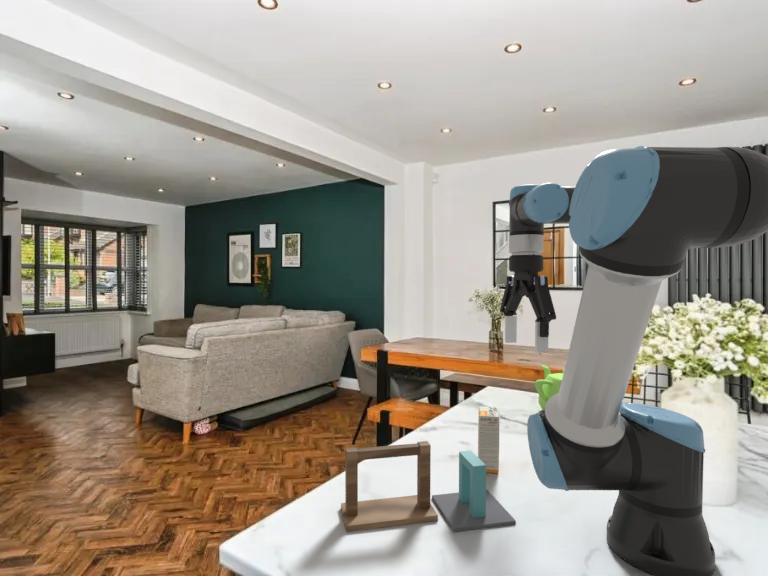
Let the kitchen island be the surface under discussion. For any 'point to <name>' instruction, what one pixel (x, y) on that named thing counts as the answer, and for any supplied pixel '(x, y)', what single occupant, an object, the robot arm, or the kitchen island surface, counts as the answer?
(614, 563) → the kitchen island surface
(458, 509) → the coaster
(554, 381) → the teapot
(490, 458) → the supplement box
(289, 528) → the kitchen island surface
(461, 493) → the teal u-shaped block
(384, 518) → the stand
